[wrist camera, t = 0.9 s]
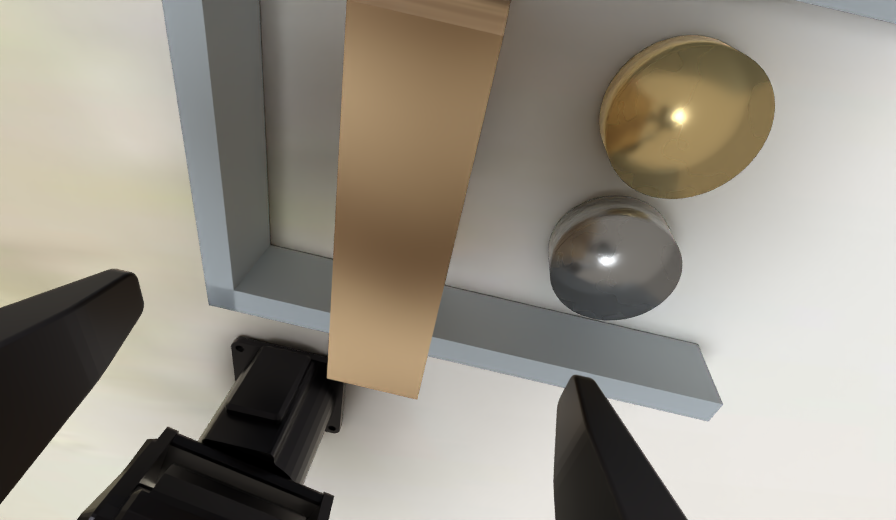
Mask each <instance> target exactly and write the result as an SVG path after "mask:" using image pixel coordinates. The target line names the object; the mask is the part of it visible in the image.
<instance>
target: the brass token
mask: <svg viewBox="0 0 896 520" xmlns="http://www.w3.org/2000/svg"><path fill="white" fill-rule="evenodd" d="M774 111H775V99H774V93H773V88H772V85H771V83H770V80H769V78H768V76H767V75H766V73H765V72H764V70H763V69H762V68H761V67H760V66H759V65H758V64H757V63H756V62H755V61H754V60H752V59H751V58H750V57H748V56H747V55H745V54H743V53H741V52H740V51H738V50H736V49H734V48H732V47H731V46H729V45H727V44H725V43H723V42H721V41H719V40H717V39H713V38H710V37H706V36H699V35H685V36H677V37H673V38H669V39H665V40H663V41H660V42H657V43H655V44H653V45H651V46H649V47H647V48H645V49H644V50H642V51H641V52H639V53H638V54H636V55H635V56H634V57H633V58H632V59H630V60H629V61H628V62H627V63H626V64H625V65H624V66H623V67H622V68H621V69H620V70H619V72H618V73H617V74H616V76H615V77H614V78H613V80H612V82H611V83H610V85H609V86H608V89H607V91H606V93H605V95H604V98H603V101H602V104H601V109H600V116H599V126H600V134H601V138H602V141H603V144H604V146H605V149H606V152H607V154H608V157H609V160H610V162H611V164H612V167H613V168H614V170H615V172H616V173H617V175H618V176H619V177H620V178H621V179H622V180H623V181H624V182H625V183H626V184H627V185H628V186H630V187H631V188H633V189H635V190H636V191H638V192H641V193H643V194H645V195H649V196H652V197H657V198H664V199H678V198H687V197H692V196H696V195H700V194H703V193H706V192H708V191H711V190H713V189H715V188H717V187H719V186H721V185H723V184H725V183H726V182H728V181H729V180H731V179H732V178H734V177H735V176H736V175H738V174H739V173H740V172H741V171H742V170H743V169H745V168H746V167H747V166H748V165H749V164H750V162H751V161H752V160H753V159H754V158H755V157H756V155H757V154H758V153H759V151H760V150H761V148H762V147H763V145H764V143H765V141H766V139H767V137H768V135H769V132H770V130H771V127H772V123H773V119H774Z"/></svg>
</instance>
